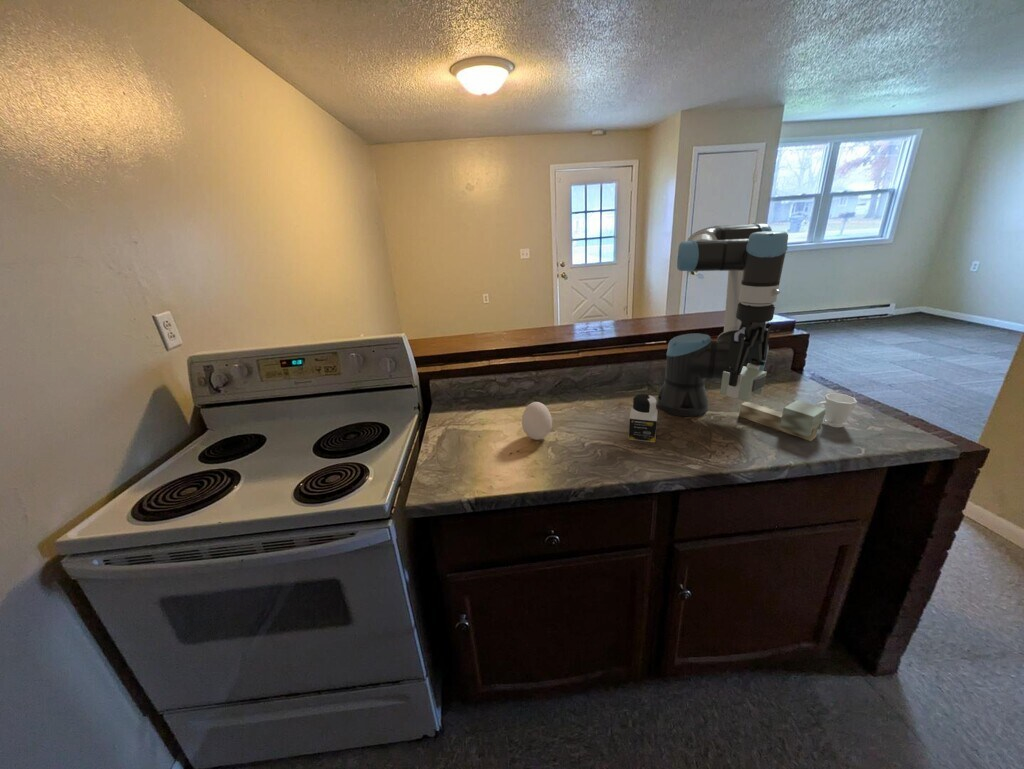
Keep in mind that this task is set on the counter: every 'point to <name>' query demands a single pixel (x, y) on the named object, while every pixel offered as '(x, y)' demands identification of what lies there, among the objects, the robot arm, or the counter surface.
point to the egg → (536, 421)
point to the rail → (769, 418)
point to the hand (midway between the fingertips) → (740, 392)
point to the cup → (837, 409)
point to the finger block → (746, 383)
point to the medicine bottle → (643, 418)
